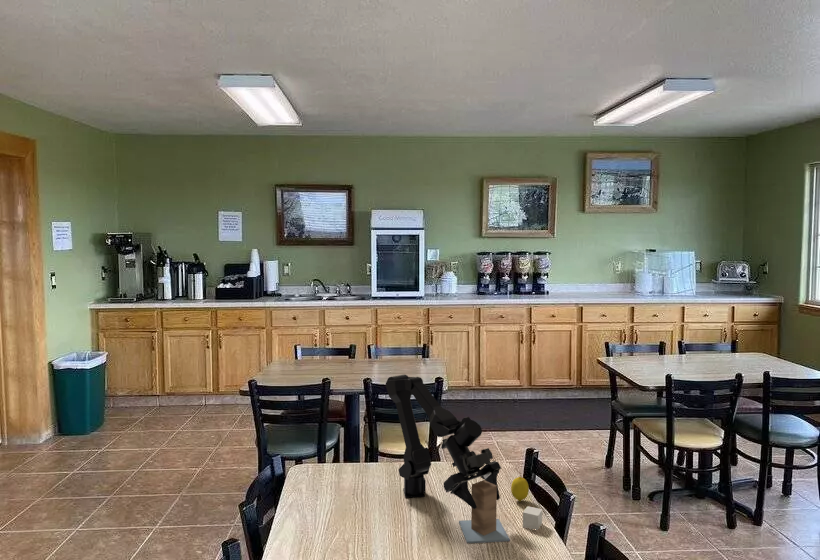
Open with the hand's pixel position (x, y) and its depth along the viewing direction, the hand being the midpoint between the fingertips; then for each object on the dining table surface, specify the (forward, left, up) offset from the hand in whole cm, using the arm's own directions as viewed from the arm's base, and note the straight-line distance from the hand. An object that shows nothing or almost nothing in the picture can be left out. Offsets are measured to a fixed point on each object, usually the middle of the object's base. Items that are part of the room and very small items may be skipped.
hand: (487, 503), depth 162 cm
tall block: (-1, +1, -8) cm, 8 cm away
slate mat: (-1, +1, -9) cm, 9 cm away
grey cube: (+14, +3, -9) cm, 17 cm away
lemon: (+15, +19, -9) cm, 26 cm away
